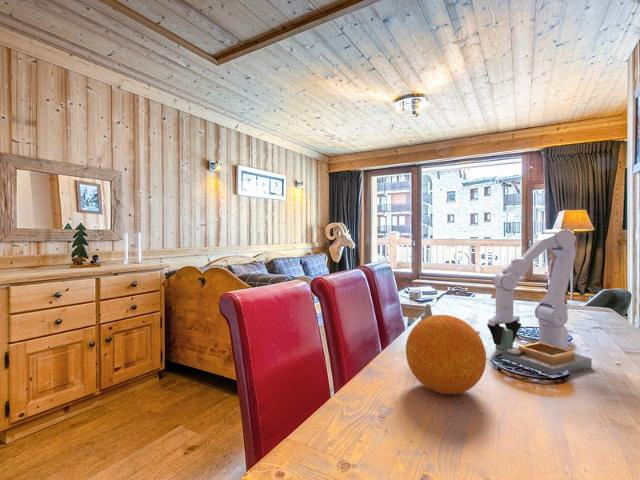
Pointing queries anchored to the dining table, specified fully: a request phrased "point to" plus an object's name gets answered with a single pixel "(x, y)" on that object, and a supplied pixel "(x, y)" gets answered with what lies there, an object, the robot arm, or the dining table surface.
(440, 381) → the decorative sphere
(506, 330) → the spout tin
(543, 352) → the grey framed base plate
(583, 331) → the dining table surface
